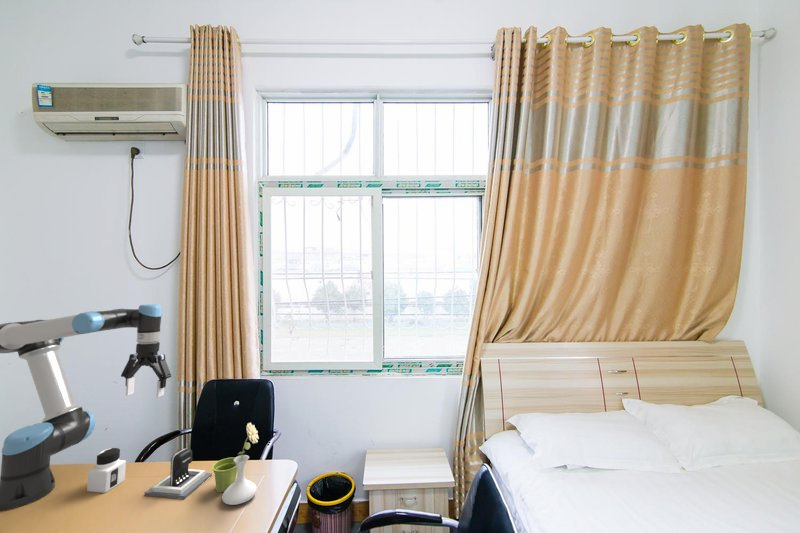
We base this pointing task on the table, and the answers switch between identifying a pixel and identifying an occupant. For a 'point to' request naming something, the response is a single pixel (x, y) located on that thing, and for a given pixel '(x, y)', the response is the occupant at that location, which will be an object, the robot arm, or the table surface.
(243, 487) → the flower in vase
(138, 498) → the table surface
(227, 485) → the plant pot
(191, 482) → the tray
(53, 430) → the robot arm
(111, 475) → the container
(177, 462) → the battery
